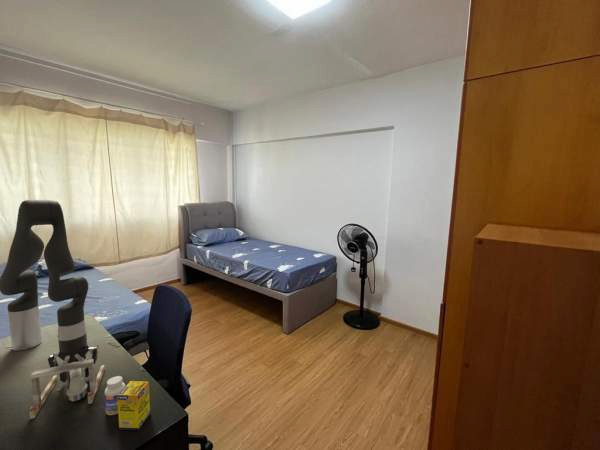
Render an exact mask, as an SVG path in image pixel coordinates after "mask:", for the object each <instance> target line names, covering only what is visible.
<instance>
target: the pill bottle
mask: <svg viewBox="0 0 600 450" xmlns="http://www.w3.org/2000/svg"><path fill="white" fill-rule="evenodd" d="M125 387H126V384H125V382H124V380H123V377H122V376H121V375H117V376H113V377H110V378H108V380H107V381H106V388H105V390H104V405H105V408H104V409H105V410H104V411H105V414H106V415H107V416H115V415H118V399H117V395H118V394H119V393H120V392H121V391H122V390H123V389H124V388H125Z"/></svg>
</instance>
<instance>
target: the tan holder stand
mask: <svg viewBox="0 0 600 450" xmlns="http://www.w3.org/2000/svg"><path fill="white" fill-rule="evenodd" d="M85 367H88V368H89V376H88V378H89V390H90V392H87V403H88V405H89V404H93V402H94V400H95V396H96V394H97V391H98V389H99V386H100V384H101V381H102V378H103V375H104V372H105V370H106V368H105V364H103V365H100V368H99V369H98V370H99V371H98V372H97V376H95V364H94V359H92V358H90V359H89V360H86V361H81V362H76V363H71V364H66V365H62V364H61V365H58V366H56V367H51V368H50V367H48V368H42V369H37V370H34V371H33V372H32V373H31V374H30V379H31V380H30V381H31V389H32V396H33V397H32V399H33V405H32V406H31V407H30V408H29V411H30V412H29V420H32V419H35V418H36V417H37V415H38V413H39V411H40V410H41V408H42V407H43V405H44V404H45V402H46V400H47V398H48V397H49V395H50V393H51V392H52V391H53V388H54V387H55V385H56V384H57V382H58V380H59V379H58V375H56V374H59V373H60V372H65V371H67V372H69V371H70V370H75V369H79V368H81V369H83V368H84V369H85ZM54 374H55V375H54ZM51 375H53V376H52V378H51V379H50V381H49V382H48V384H47V385H46V387H45V388H44V389H43V391H42V393H41V385H40V384H41V383H40V377H44V376H45V377H46V376H51Z"/></svg>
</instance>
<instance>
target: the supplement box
mask: <svg viewBox="0 0 600 450" xmlns="http://www.w3.org/2000/svg"><path fill="white" fill-rule="evenodd" d="M117 399H118V414H117V415H118V429H119V430H122V431H123V430H124V431H125V430H127V431H128V430H129V431H139V430H140V429H141V427H142V426H143V425H144V423H145V421H146V420H148V418H149V417H150V416H151V405H150V403H151V401H150V382H149V381H144V380H143V381H140V380H139V381H136V380H130V381H129V382H128V383H127V384H126V385H125V388H124V389H123V390H122V391H121V392H120V393H119V394H118V395H117Z"/></svg>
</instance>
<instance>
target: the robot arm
mask: <svg viewBox="0 0 600 450" xmlns="http://www.w3.org/2000/svg"><path fill="white" fill-rule="evenodd" d="M17 211H18V212H17V218H16V226H15V232H14V236H13V239H12V242H11V245H10V248H9V251H8V252H9V253H8V257H7V261H6V265H5V267H4V269H3V272H2V273H1V276H0V293H1V294H2V295H4V296H15V295H19V294H22V295H21V296H20V297H18V298H16V299H14V300H13V301H11V302H9V303H8V304H7V316H8V323H9V331H10V339H11V340H10V341H11V350H12V351H15V352H17V351H25V350H28V349H29V350H30V349H32V348H34V347H36V346H38V345H40V344H41V343H42V341H43V339H42V331H41V330H42V329H41V319H40V309H39V293H38V292H39V291H38V290H39V287H38V286H39V285H38V283H39V282H38V276H37V273H36V272H35V271H34V270H31V269H30V268H32V267H33V266H34V265H36V263H39V261H40V260H41V258H42V257H43V259H44V263H45V265H46V269H47V273H48V288H47V295H48V296H47V297H48V298H49V299H50V301H53V302H54V303H59V302H60V303H61V302H64V301H68V300H71V301H70V302H68V303H67V304H64V305H62V306H61V307H58V309H57V311H56V317H57V340H58V341H57V342H58V350H59V352H58V353H51V354H50V356H48V358H47V361H48V365H49V368H51V367H56V366H59V363H58V359H60V360H62V361H63V362H62V364H61V365H66V364H69V363H73V362H81V361H86V360H90V359H89V356H88V355H87V354H88V352H89V353H90V354H91V359H94V365H96V363H97V360H98V355H99V345H95V346H93V347H91V346H89V345H88V336H87V325H86V321H85V310H84V308H85V304H86V303H85V302H86V298H87V295H88V291H89V281H88V280H87V279H86V278H85V277H84V276H80V275H79V276H75V277H69V278H65V279H61V277H64V276H67V275H69V274H72V273H73V272H74V271H75V269H76V266H75V263H74V260H73V256H72V253H71V251H70V248H69V243H68V236H67V230H66V224H65V217H64V212H63V208H62V206H61V204H60V203H59V202H58V201H57V200H54V199H53V200H51V199H44V200H43V199H26V200H22V201H21V203H20V204H19V207H18V210H17ZM49 225H51V227H52V229H53V230H52V234H51V237H50V238H49V240H48V241H47V243H46V245H45V243H44V241H43V240H42V238H41V237H40V236H39V235H38V234H36V233H35V232H34V230H33V229H32V227H34V226H49ZM67 372H68V371H65V372H60V373H58V374H59V381H60V382H61V383H67V381H68V373H67ZM84 377H85V378H89V368H88V367H84Z"/></svg>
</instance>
